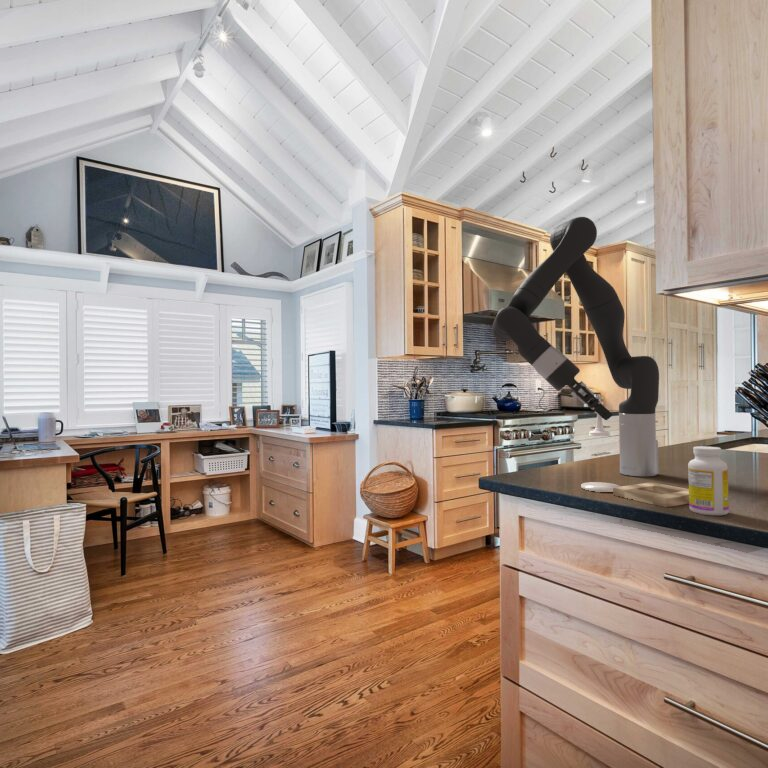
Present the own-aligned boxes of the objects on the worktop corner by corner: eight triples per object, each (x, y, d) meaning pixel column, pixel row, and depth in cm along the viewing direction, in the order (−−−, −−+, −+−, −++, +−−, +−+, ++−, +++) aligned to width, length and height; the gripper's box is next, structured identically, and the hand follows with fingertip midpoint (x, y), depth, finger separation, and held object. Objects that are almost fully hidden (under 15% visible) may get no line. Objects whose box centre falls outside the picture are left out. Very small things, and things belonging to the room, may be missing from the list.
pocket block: (651, 489, 122) (651, 482, 122) (705, 500, 110) (705, 492, 110) (613, 495, 116) (613, 487, 116) (666, 507, 105) (666, 498, 105)
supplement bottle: (717, 508, 103) (716, 445, 103) (736, 516, 97) (735, 449, 97) (682, 508, 104) (681, 445, 104) (699, 516, 97) (698, 449, 97)
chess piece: (594, 433, 127) (594, 394, 127) (614, 435, 124) (613, 394, 124) (584, 435, 124) (584, 394, 124) (604, 436, 120) (604, 394, 120)
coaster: (599, 484, 130) (598, 480, 130) (629, 490, 122) (629, 487, 122) (573, 487, 126) (573, 484, 126) (603, 494, 118) (602, 490, 118)
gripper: (566, 355, 120) (624, 407, 116) (566, 358, 133) (617, 405, 129) (543, 378, 121) (599, 430, 117) (545, 379, 135) (595, 425, 131)
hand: (608, 417), depth 123 cm, fingers closed on chess piece
